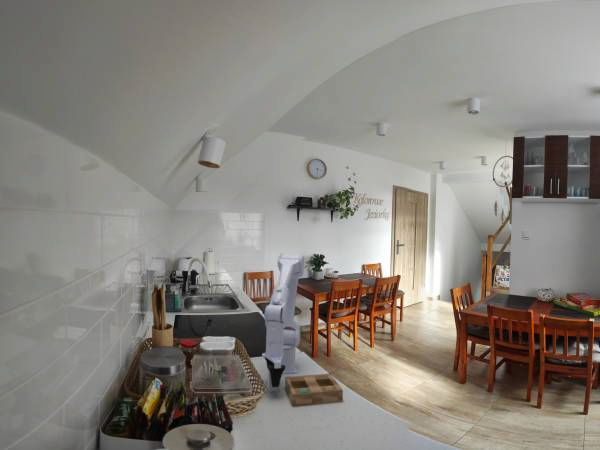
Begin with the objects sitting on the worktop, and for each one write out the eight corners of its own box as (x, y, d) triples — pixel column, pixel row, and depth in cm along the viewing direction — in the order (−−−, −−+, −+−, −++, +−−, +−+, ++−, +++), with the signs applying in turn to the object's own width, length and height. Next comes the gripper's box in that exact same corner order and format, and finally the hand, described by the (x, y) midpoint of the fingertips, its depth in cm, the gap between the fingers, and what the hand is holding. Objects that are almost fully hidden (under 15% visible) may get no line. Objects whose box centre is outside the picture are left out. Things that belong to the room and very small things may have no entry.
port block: (285, 387, 109) (285, 376, 109) (330, 383, 113) (330, 372, 113) (292, 406, 98) (292, 394, 98) (342, 401, 101) (342, 389, 101)
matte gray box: (267, 386, 110) (267, 365, 110) (277, 385, 110) (278, 365, 111) (268, 391, 106) (269, 370, 106) (279, 390, 107) (280, 369, 107)
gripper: (260, 334, 115) (259, 372, 114) (265, 348, 101) (264, 392, 100) (279, 333, 116) (278, 371, 116) (288, 347, 102) (286, 390, 102)
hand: (273, 381), depth 108 cm, fingers open, 7 cm apart
